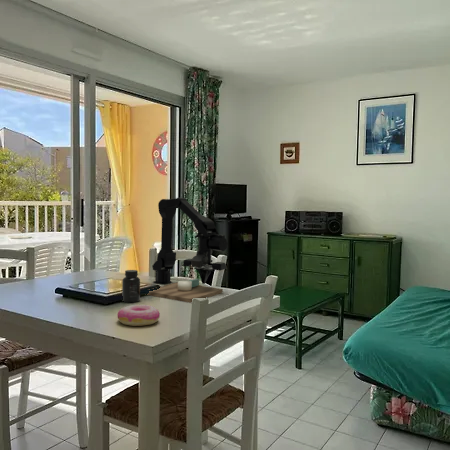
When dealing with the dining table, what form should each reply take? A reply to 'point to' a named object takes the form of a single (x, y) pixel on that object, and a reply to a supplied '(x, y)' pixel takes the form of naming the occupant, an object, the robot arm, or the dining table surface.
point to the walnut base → (184, 292)
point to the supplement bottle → (131, 287)
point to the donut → (138, 315)
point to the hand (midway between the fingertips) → (203, 283)
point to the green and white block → (187, 284)
